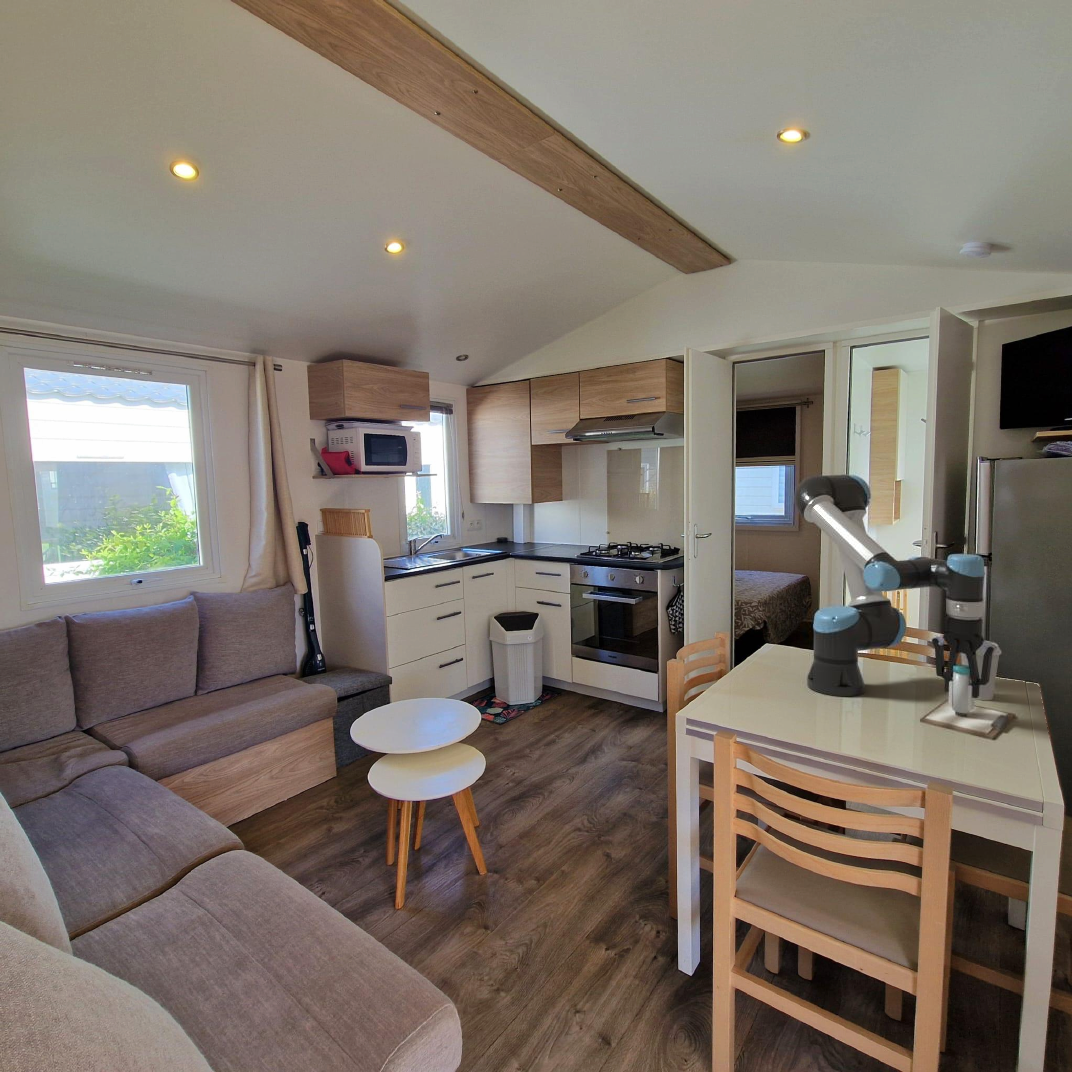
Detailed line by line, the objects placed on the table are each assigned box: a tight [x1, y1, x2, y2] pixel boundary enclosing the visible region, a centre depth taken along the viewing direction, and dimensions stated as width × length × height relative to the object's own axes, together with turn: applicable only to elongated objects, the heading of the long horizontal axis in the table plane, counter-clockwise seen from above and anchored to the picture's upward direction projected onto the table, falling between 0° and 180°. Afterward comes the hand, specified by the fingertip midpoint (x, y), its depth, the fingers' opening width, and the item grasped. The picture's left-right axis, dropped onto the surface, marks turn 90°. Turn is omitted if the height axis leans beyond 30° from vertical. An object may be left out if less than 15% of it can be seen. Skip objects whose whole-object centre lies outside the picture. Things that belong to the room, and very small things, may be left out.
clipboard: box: [919, 698, 1017, 741], centre depth 154 cm, size 15×20×2 cm
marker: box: [952, 663, 971, 717], centre depth 154 cm, size 4×4×13 cm
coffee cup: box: [960, 640, 1002, 701], centre depth 168 cm, size 10×10×15 cm
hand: (961, 707), depth 155 cm, fingers closed on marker, 3 cm apart
